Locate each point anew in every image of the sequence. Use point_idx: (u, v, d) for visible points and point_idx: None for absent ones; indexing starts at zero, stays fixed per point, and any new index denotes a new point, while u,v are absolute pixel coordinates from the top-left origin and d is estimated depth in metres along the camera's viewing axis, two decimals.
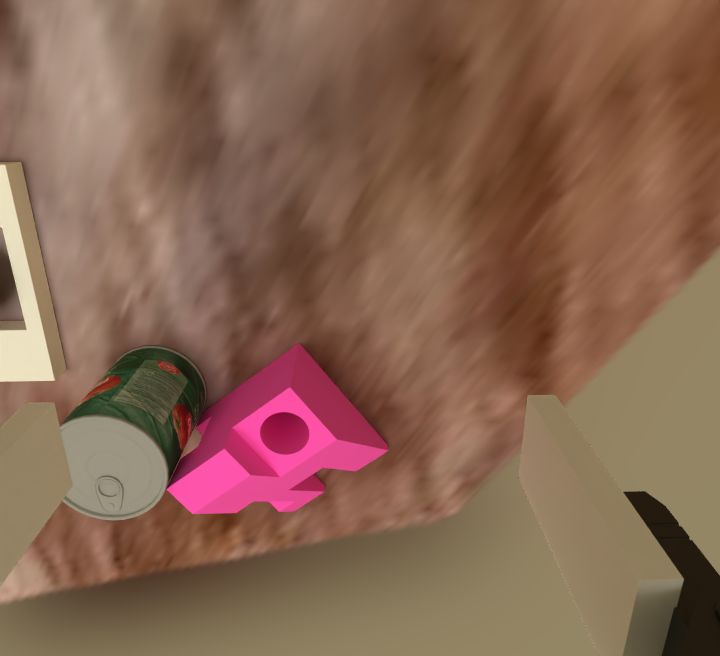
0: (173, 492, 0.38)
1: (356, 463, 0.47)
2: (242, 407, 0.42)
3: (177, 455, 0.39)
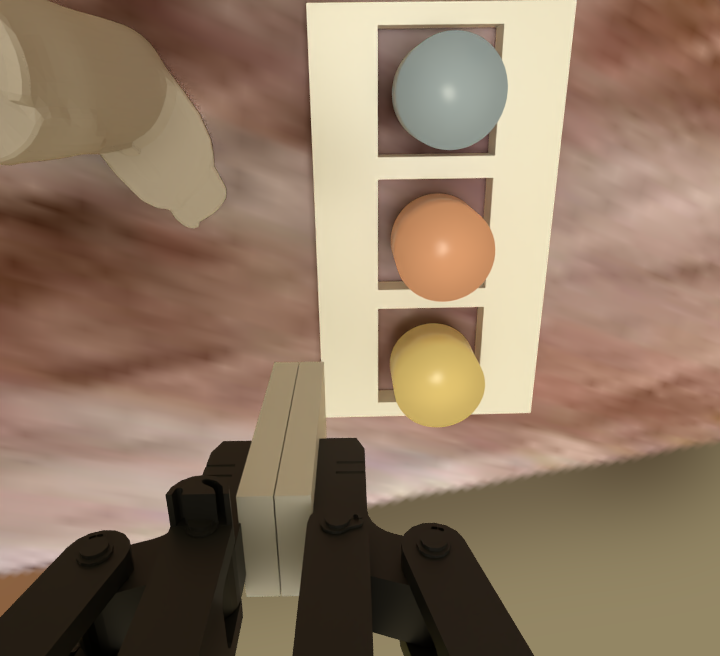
0: None
1: None
2: None
3: None
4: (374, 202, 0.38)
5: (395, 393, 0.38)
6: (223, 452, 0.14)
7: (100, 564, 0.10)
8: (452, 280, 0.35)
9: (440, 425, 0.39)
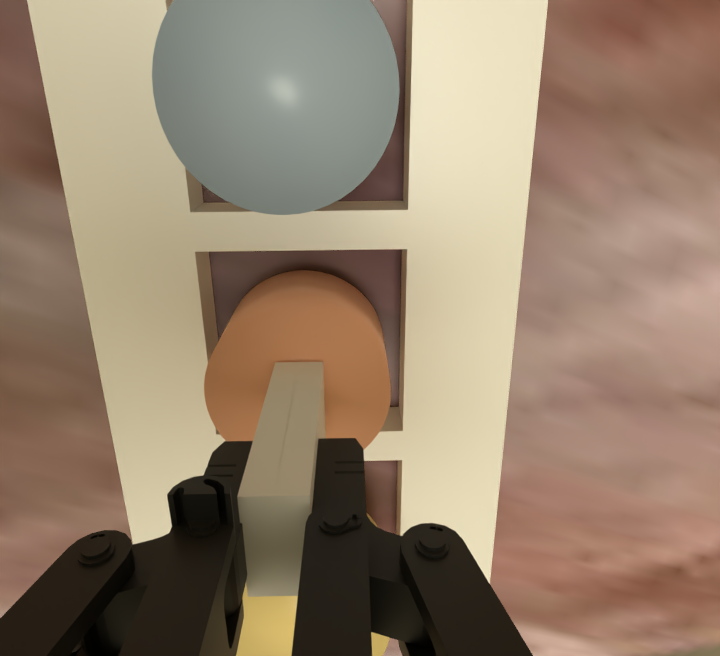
0: None
1: None
2: None
3: None
4: (193, 291, 0.21)
5: None
6: (223, 452, 0.14)
7: (102, 564, 0.10)
8: None
9: None
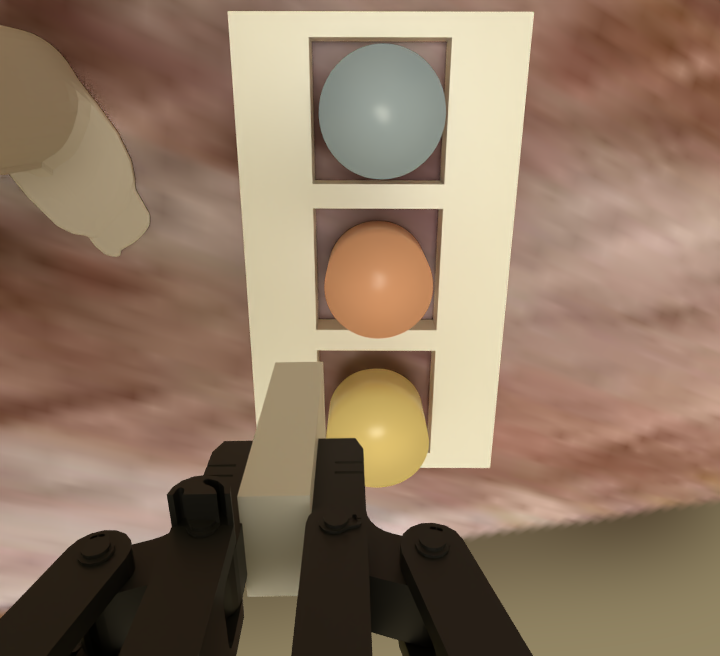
0: None
1: None
2: None
3: None
4: (309, 233, 0.34)
5: None
6: (223, 452, 0.14)
7: (102, 564, 0.10)
8: (387, 315, 0.32)
9: (379, 485, 0.34)
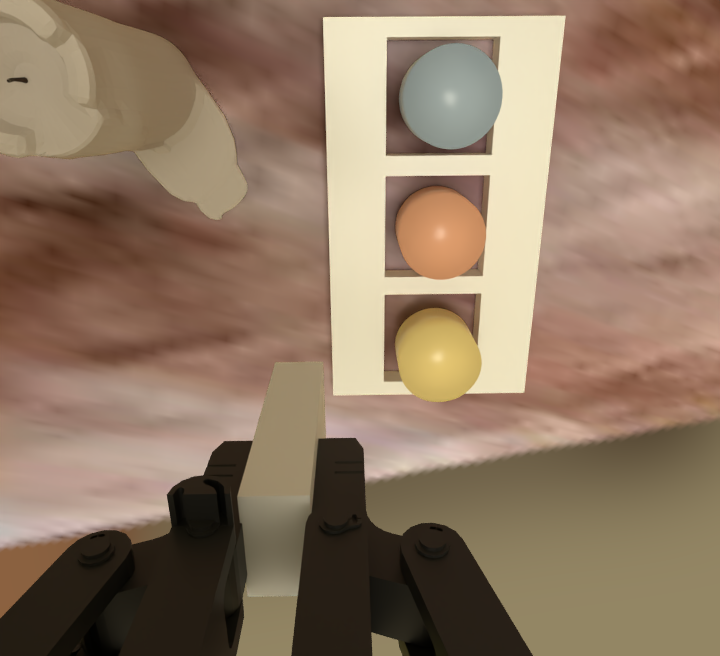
0: None
1: None
2: None
3: None
4: (382, 196, 0.42)
5: (400, 370, 0.42)
6: (224, 453, 0.14)
7: (102, 564, 0.10)
8: (449, 260, 0.40)
9: (440, 400, 0.43)
